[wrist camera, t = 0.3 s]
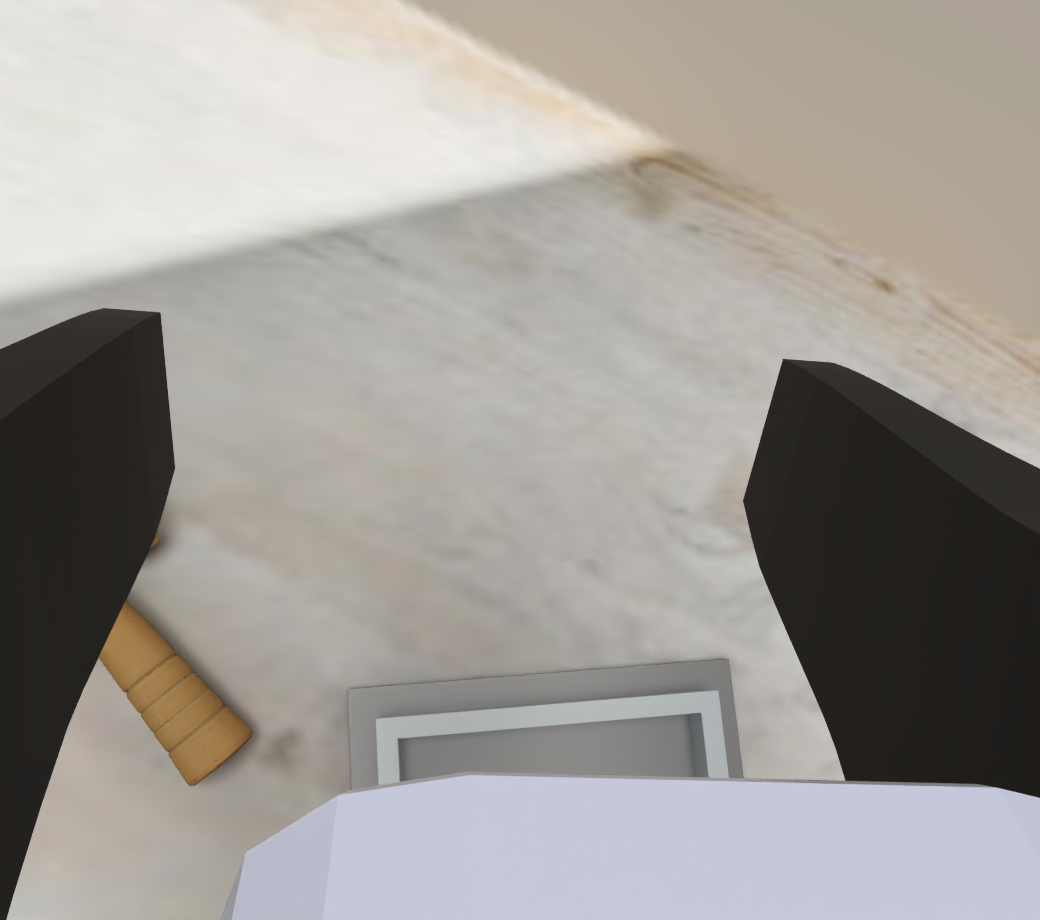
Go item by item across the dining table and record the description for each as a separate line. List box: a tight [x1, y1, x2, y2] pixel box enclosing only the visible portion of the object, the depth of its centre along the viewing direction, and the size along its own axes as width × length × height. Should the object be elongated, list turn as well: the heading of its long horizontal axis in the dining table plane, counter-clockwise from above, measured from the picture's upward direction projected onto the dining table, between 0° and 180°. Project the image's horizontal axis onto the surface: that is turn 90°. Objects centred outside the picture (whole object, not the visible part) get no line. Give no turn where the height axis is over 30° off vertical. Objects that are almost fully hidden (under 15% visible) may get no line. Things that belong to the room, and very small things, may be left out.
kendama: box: [99, 532, 252, 786], centre depth 37 cm, size 8×6×18 cm
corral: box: [348, 659, 743, 790], centre depth 37 cm, size 16×16×2 cm
